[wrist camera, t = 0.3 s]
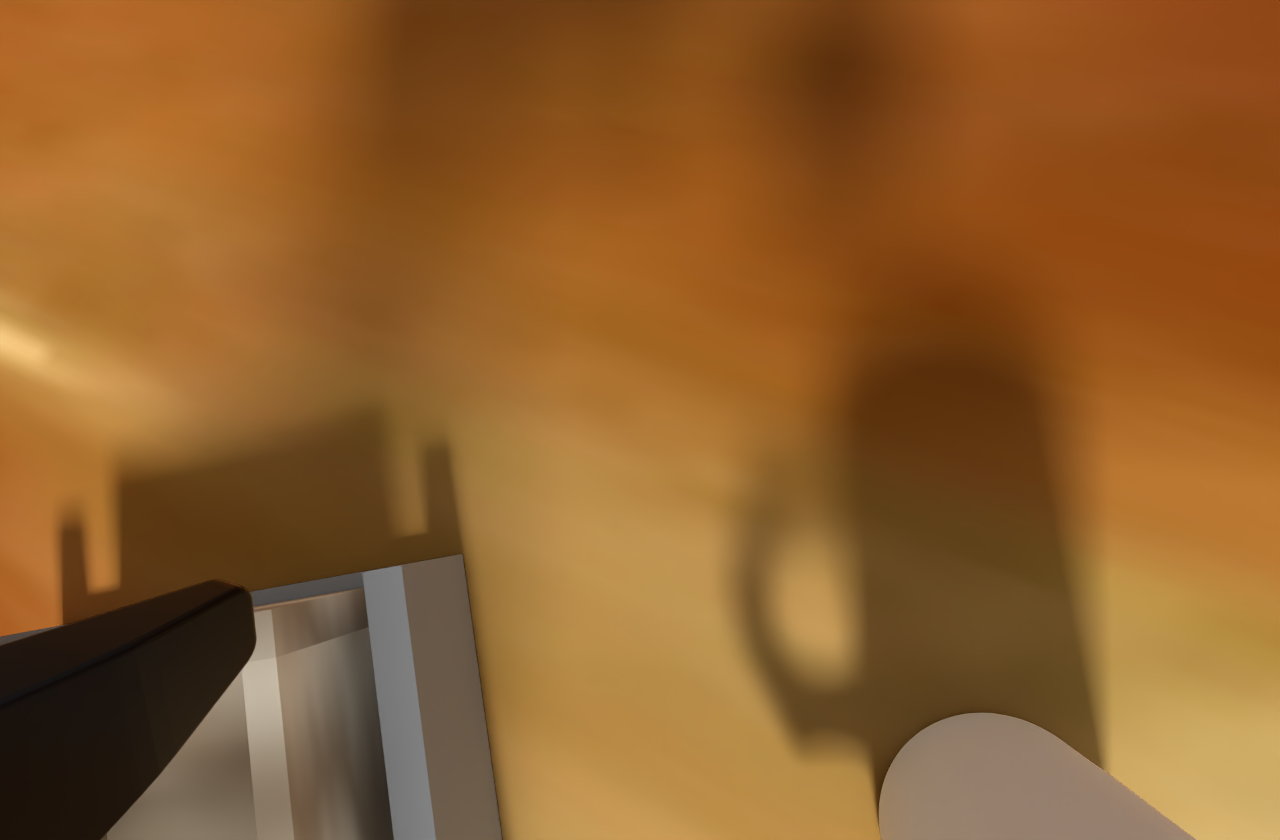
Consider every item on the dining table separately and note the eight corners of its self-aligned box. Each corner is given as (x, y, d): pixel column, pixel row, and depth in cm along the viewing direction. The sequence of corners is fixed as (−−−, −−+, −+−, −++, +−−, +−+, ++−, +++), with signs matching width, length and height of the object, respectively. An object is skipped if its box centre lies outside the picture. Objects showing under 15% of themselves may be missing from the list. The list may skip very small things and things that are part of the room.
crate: (418, 915, 21) (314, 1041, 16) (110, 944, 23) (-68, 1066, 18) (378, 584, 23) (270, 609, 18) (91, 634, 24) (-80, 669, 19)
